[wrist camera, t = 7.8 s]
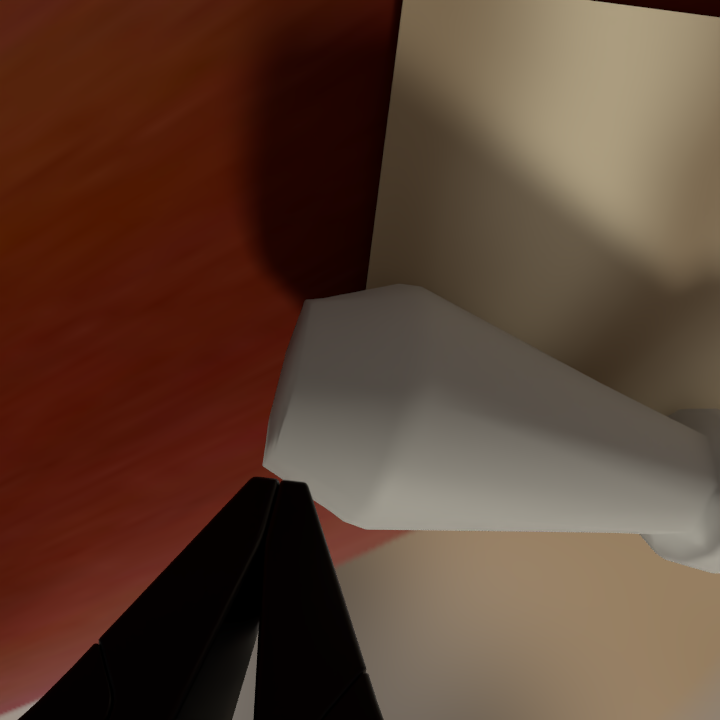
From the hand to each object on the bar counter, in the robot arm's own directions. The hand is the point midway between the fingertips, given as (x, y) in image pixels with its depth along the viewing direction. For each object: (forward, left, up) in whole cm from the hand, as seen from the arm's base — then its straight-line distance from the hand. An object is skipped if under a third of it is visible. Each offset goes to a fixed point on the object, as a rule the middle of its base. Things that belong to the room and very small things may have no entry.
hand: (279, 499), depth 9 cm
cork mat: (+8, 0, -8) cm, 12 cm away
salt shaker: (-1, -1, -5) cm, 5 cm away
